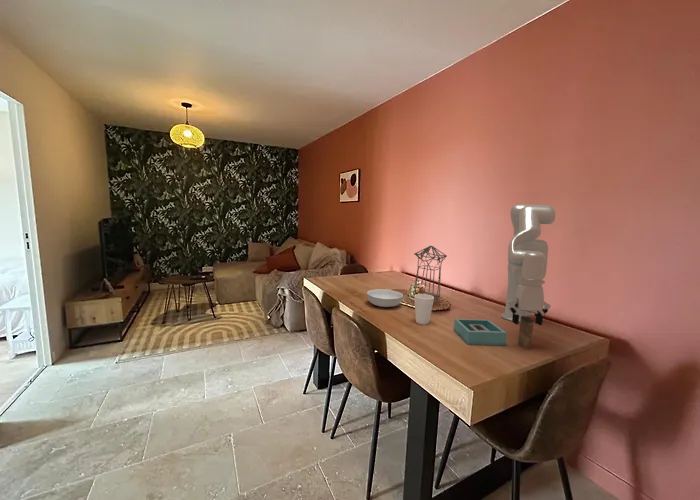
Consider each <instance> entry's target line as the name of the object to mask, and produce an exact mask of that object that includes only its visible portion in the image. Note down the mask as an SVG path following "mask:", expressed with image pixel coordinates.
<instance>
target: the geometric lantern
mask: <svg viewBox="0 0 700 500" xmlns="http://www.w3.org/2000/svg"><path fill="white" fill-rule="evenodd" d="M430 251H432V253H430ZM440 253H441V254H440ZM425 254H426V255H425ZM413 255H415V256H416V258H417V260H418V261H417V268H416V269H417V271H416V276H415V282H414V287H413V291H412V296H415V295H416V293H417V286H418V278H419V269H423V272H422V278H421V285H422V286H423V281H424V275H425V281H424V288H423V289H424V290H423V292H424V294H427V295H431V296H433V297H434V296H435V297H434V301H435V300H436V299H439V298H441V275H442V274H441V270H442V265H443V264H442V263H443V261H444V260H445V259H446V258H447V257H448V255H447V254H445V253H444V252H442V251H440V249H438V248H437V247H435V246H433V245H429V246H427V247H425V248H423V249H420V250H419V251H417V252H415V253H413ZM423 258H425V260H424V259H423ZM427 258H429V259H427ZM420 260H421V262H420ZM433 260H434V261H436V262H437V264H435V266H433V265H432V266H431V265H430V263H431V262H432V261H433ZM425 262H426V263H425ZM419 263H420V264H419ZM422 263H423V264H424V265H421V264H422ZM426 264H427V265H426ZM437 266H438V267H437ZM432 268H433V269H432ZM428 270H429V271H430V273H429V281H428V282H429V284H428V291H427V292H426V287H427V278H428ZM438 270H439V271H438ZM425 271H426V274H425ZM432 271H433V276H432ZM435 271H438V279H437V280H438V281H437V293H436V294H435V292H434V291H435V289H434V288H435V274H436V273H435ZM432 277H433V278H432ZM431 280H432V292H430V291H431ZM421 285H420V286H421Z"/></svg>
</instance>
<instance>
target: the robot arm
mask: <svg viewBox="0 0 700 500" xmlns="http://www.w3.org/2000/svg"><path fill="white" fill-rule="evenodd" d="M510 220H511V223H512V228H513V237H511V240H510V241H509V244H508V247H507V248H508V249H507V262H508V263H507V286H506V287H507V288H506V298H505V299H506V301H505V311H504V312H502V313H501V317H502V318H503V319H506V320H508V321H510V322H512V323H513V324H515V325H519V324H520V321H521V316H527V317H535V320H534V321H535V324H536V325H538V326H542V325H543V320H544V316H545V314H547V313H548V312H549V309H550V308H551V304H549V303H547V302H546V301H544V300H545V293H544V292H545V291H544V287H543V285H544V284H545V283H546V281H545V280H544V278H545V277H546V274H547V268H548V267H547V266H548V258H549V257H548V256H549V255H548V254H549V244H548V242H547V241H546V240H544V239H538V238H539V237H540V236H541V233H542V231H541V229H542V228H541V225H552V224H553V223H554V222H555V220H556V210H555V208H554V206H552V205H550V204H529V203H528V204H527V203H522V204H521V203H520V204H515V205H512V206H511V208H510ZM535 312H536V313H535Z"/></svg>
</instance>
